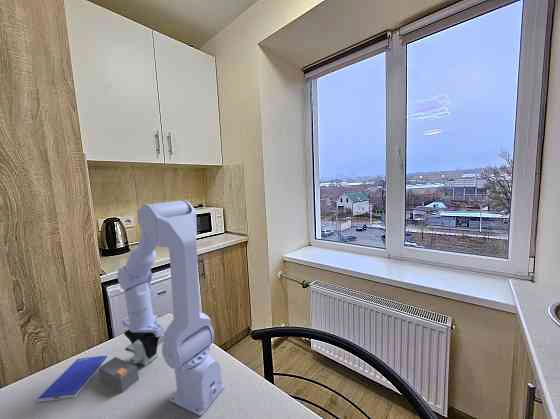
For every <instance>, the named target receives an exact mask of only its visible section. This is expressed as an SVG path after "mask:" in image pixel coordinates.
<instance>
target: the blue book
mask: <svg viewBox="0 0 560 419" xmlns="http://www.w3.org/2000/svg"><path fill="white" fill-rule="evenodd" d="M108 357H109V356H108V355H99V356H89V357H83V358H82V357H81V358H77V359H76V360H75V361H74V362H73V363H72V364H71V365H70V366H69V367H68V368H67V369H66V370H65V371H64V372H63V373H62V374H61V375H60V376H59V377H58V378H57V379H56V380H54V382H53V383H51V385H50V386H49V387H47V388H46V389H45V391H43V392H42V394H40V396H39V397H37V403H39V402H47V401H55V400H65V399H70V398H76V397H77V395H79V393H80V392H81V391H82V390H83V388H85V386H86V385H87V384H88V382H89V381H91V379H92V378H93V377H94V375H95V374H96V373H97V372H99V367H101V366H102V365H104V364H105V363H106V361H107V360H108V359H109V358H108Z"/></svg>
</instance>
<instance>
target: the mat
mask: <svg viewBox="0 0 560 419" xmlns="http://www.w3.org/2000/svg"><path fill="white" fill-rule="evenodd" d="M163 342H164V335H163V334H162V335H160V337H159V340H158V344H157V346H159V345H161V343H163ZM125 349H126V350H129V351H131V352H133V353H134V347H133V345H132V343H130V344H129V345H126V346H125Z"/></svg>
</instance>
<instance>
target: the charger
mask: <svg viewBox="0 0 560 419" xmlns="http://www.w3.org/2000/svg"><path fill="white" fill-rule="evenodd" d="M133 347H134V352H133V353H134V355H133V356H132V357H130V362H131V364H132V363H133V365H135V364H137V363H138V364H141V365H143V366H147V365H148V364H150V363H151V362H152V361H153V360H154V359H156V358H157V357H158V356H159V350H158V348H157V351H156V354H155V355H154V356H153V357H151V358H150V359H149V358H148V357H147V355H146V351H145V348H144V346H143V344H142V342H141V341H140V340H139V339H138V340H137V341H135V342H134V343H133Z"/></svg>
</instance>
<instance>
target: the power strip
mask: <svg viewBox="0 0 560 419" xmlns="http://www.w3.org/2000/svg"><path fill="white" fill-rule="evenodd" d="M98 372H99V377H100V381H101V382H103V383H105V384H107V385H109V386H111V387H112V388H113V389H114V388H115V389H116V390H118V391H119V392H122V393H124V392H125V391H127V389H129V388H131V386H132V385H134V384H135V383H136V382H138V381H139V380H140V377H139V372H138V366H137V365H135V364H134V363H133V364H132V363H130V362H128V361H126V360H123V359H121V358H119V357H117V356H115V357H113V358H111V359H109V361H107V362H104V364H103V365H102V366H101V367H99V370H98Z"/></svg>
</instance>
